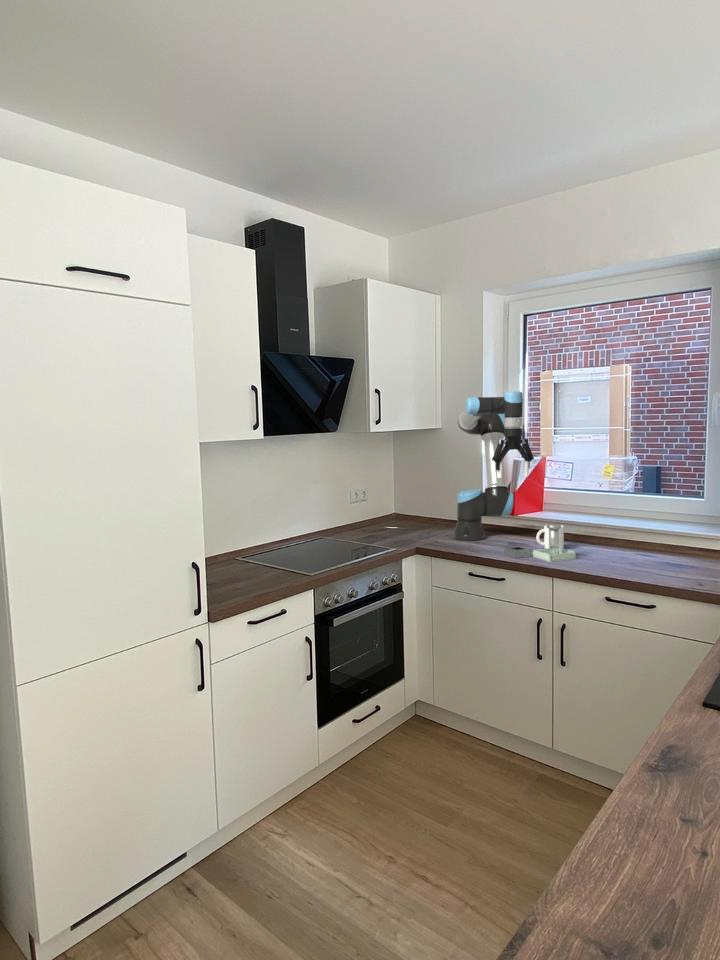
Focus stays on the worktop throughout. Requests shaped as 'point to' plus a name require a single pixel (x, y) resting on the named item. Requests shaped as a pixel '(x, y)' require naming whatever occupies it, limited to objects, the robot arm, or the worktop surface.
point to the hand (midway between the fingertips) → (512, 477)
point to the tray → (561, 556)
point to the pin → (553, 538)
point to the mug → (546, 537)
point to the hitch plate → (517, 551)
